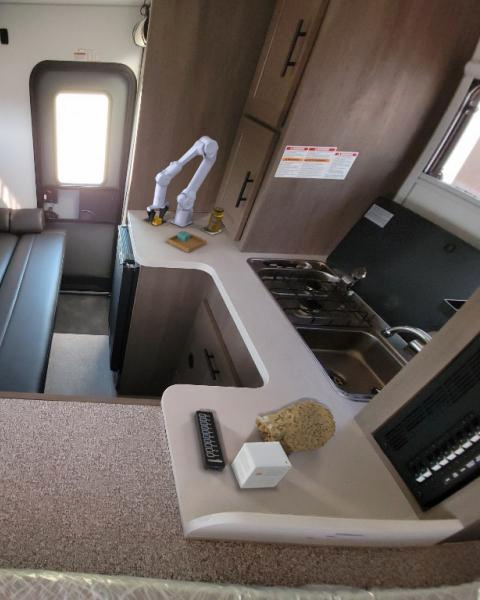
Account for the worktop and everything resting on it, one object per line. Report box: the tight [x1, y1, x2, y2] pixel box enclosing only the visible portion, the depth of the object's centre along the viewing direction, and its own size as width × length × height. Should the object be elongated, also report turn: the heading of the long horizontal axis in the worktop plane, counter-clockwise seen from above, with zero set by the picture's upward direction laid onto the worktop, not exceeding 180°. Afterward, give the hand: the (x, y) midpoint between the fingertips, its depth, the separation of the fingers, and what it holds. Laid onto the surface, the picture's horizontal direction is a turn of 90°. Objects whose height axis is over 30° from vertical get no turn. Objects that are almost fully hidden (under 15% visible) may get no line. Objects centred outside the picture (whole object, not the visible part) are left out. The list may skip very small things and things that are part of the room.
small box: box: [230, 441, 293, 489], centre depth 73 cm, size 8×6×10 cm
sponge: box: [255, 400, 337, 454], centre depth 83 cm, size 13×8×20 cm
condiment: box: [200, 206, 225, 236], centre depth 173 cm, size 7×8×12 cm
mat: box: [143, 217, 167, 227], centre depth 185 cm, size 9×9×1 cm
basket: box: [166, 230, 207, 253], centre depth 164 cm, size 14×13×2 cm
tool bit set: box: [194, 410, 226, 472], centre depth 82 cm, size 4×14×2 cm, turn 174°
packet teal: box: [176, 230, 192, 242], centre depth 167 cm, size 4×5×3 cm
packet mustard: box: [149, 215, 162, 226], centre depth 181 cm, size 4×5×3 cm
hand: (155, 220), depth 181 cm, fingers open, 7 cm apart
